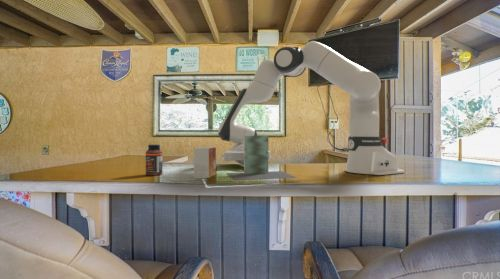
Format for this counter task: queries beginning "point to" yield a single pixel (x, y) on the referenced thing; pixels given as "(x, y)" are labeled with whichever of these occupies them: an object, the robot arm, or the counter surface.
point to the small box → (204, 162)
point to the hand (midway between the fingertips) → (251, 157)
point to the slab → (255, 154)
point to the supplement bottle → (153, 160)
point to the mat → (260, 175)
